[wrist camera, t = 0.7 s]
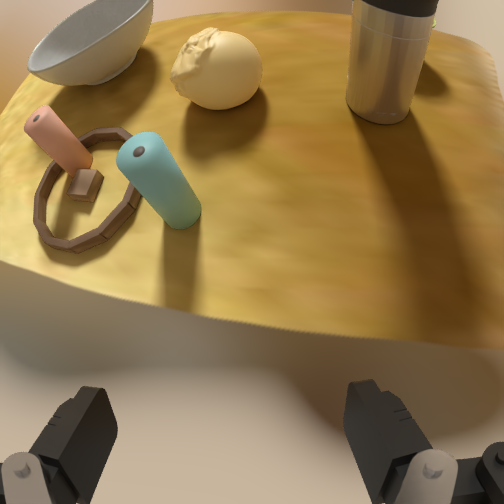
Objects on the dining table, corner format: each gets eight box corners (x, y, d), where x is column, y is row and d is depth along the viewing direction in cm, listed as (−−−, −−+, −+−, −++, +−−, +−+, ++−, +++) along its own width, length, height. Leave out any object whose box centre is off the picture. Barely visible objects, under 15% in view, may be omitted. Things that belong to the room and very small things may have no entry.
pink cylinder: (76, 153, 44) (35, 107, 33) (97, 152, 43) (55, 102, 32) (65, 177, 43) (18, 133, 32) (85, 178, 42) (37, 130, 31)
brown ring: (72, 138, 46) (66, 131, 44) (165, 134, 42) (160, 125, 40) (26, 241, 40) (18, 236, 38) (117, 262, 36) (109, 257, 34)
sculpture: (197, 71, 46) (179, 20, 36) (270, 69, 44) (261, 13, 34) (176, 121, 43) (149, 66, 33) (258, 121, 40) (246, 58, 30)
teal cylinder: (171, 192, 38) (128, 131, 27) (205, 196, 37) (169, 131, 26) (159, 226, 37) (108, 172, 26) (195, 231, 36) (151, 174, 25)
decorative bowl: (37, 124, 50) (4, 88, 39) (87, 45, 59) (66, 11, 48) (147, 98, 46) (117, 43, 34) (185, 19, 54) (169, -24, 43)
